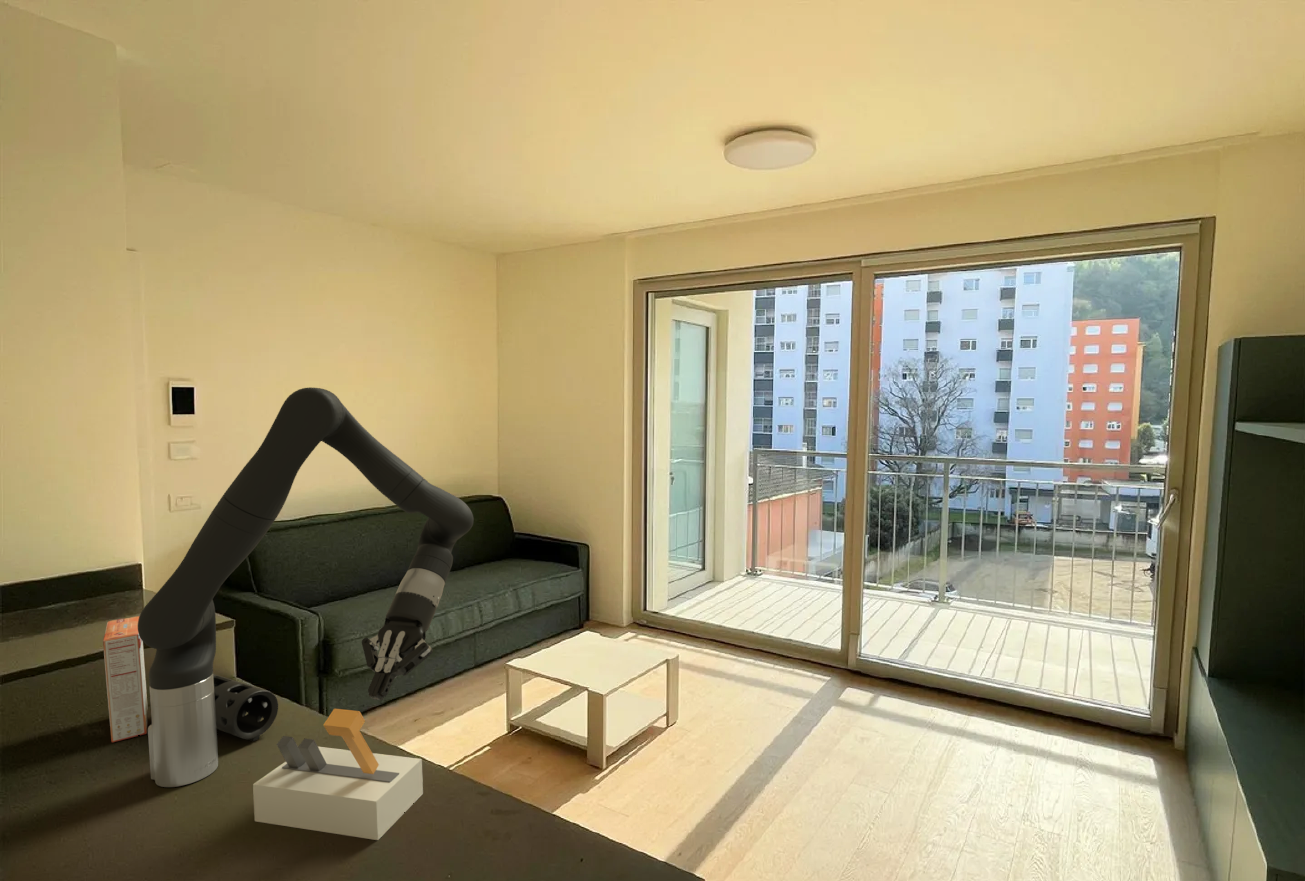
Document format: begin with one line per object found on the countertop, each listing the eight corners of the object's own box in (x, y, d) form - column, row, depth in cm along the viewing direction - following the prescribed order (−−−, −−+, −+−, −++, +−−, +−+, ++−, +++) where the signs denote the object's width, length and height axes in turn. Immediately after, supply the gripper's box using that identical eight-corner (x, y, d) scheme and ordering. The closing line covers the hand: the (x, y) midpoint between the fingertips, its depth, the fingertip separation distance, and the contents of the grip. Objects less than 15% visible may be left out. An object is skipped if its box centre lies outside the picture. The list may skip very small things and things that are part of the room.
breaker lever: (354, 775, 105) (323, 724, 98) (363, 759, 107) (334, 708, 100) (378, 778, 104) (349, 727, 97) (388, 762, 106) (359, 711, 99)
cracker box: (112, 717, 140) (106, 620, 139) (148, 709, 144) (142, 614, 142) (108, 744, 129) (101, 639, 127) (147, 735, 132) (140, 632, 131)
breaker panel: (254, 821, 104) (251, 748, 103) (310, 778, 116) (307, 712, 115) (377, 840, 99) (374, 763, 99) (423, 793, 111) (420, 724, 110)
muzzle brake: (232, 754, 125) (229, 700, 124) (153, 722, 138) (150, 673, 137) (281, 731, 133) (278, 681, 133) (202, 703, 146) (200, 657, 146)
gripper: (373, 588, 116) (327, 685, 105) (441, 592, 113) (400, 693, 102) (393, 608, 122) (351, 703, 111) (458, 612, 119) (422, 710, 108)
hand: (375, 698), depth 106 cm, fingers closed
